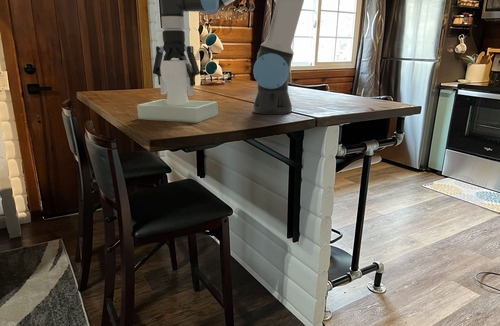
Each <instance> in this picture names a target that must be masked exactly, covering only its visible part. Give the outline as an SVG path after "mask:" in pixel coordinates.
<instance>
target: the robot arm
mask: <svg viewBox="0 0 500 326" xmlns="http://www.w3.org/2000/svg"><path fill="white" fill-rule="evenodd" d="M159 1H160V14H161V15H160V16H161V17H160V18H161V28H162V30H163V31H162V42H163V46H161V45H159V46H156V47H155V51H156V52H155V59H154V63H153V69H152V74H153V75H156V76H157V80H158V81H157V82H158V85H159V88H160V95H163V96H164V95H166V94H167V95H168V92H167V87H166V85H165V83H164V81H163V79H162V76H161V71H160V66H161V61H162V60H163V61H170V60H173V59H177V60H180V61H183V60H189V63H190V64H186V63H185V64H186V68H187V73H188V75H189V76H188V77H187V97H188V96H189V97H191V96H194V91H195V90H194V87H195V85H196V76H198V75H201V72H200V69H199V66H198V63H197V59H196V57H195V53H194V46H192V45H188V46H186V42H185V41H186V37H185V36H186V35H185V34H186V33H185V31H184V29H185V15H184V12H186V13H187V12H193V13H194V12H196V13H197V12H200V13H203V14H204V15H207V16H213V15H215V14H217V13H218V12H219V11H220V10H221V9H223V8H224V7H226V6H228V5H229V4H231V3H232V2H235V1H236V0H159ZM304 2H305V0H276V3H275V7H274V10H273V14H272V18H271V23H270V26H269V30H268V34H267V38H266V40H265V41H264V42H262V43H261V44H260V47H259V50H258V52H257V56H256V60H255V62H254V65H253V70H252V72H253V73H252V74H253V77H254V79H255V81H256V83H257V93H256V95H255V99H254V103H253V107H252V111H253V113H256V114H261V115H283V114H284V115H285V114H289V113H291V112H293V104H292V101H291V99H290V95H289V89H288V88H289V73H290V72H289V71H290V68H291V64H292V62H293V61H292V60H293V57H294V51H293V49H292V44H293V41H294V38H295V34H296V30H297V27H298V23H299V21H300V15H301V13H302V9H303V5H304ZM185 52H186V54H185ZM164 53H165V54H164ZM186 55H187V56H186ZM187 58H188V59H187Z"/></svg>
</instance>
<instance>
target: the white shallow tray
mask: <svg viewBox="0 0 500 326" xmlns="http://www.w3.org/2000/svg"><path fill="white" fill-rule="evenodd" d="M218 103H219V102H218V101H209V100H189V99H188V103H185V104H168V103H167V98H166V99H164V98H161V99H157V100H154V101H148V102H145V103H140V104H136V107H137V118H138V120H147V121H148V120H149V121H161V122H162V121H163V122H164V121H165V122H177V123H178V122H179V123H194V124H199V123H200V122H204V121H206V120H209V119H211V118H214V117H216V116H217V117H218V116H219V107H218V105H219V104H218Z"/></svg>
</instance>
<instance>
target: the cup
mask: <svg viewBox="0 0 500 326" xmlns="http://www.w3.org/2000/svg"><path fill="white" fill-rule="evenodd" d="M185 63H186V64H190V61H189V59H187V60H183V61H180V60H179V59H171V60H170V61H163V59H162V61H161V66H160V71H161V76H162V79H163V81H164V83H165V85H166V88H167V97H166V99H167V103H168V104H185V103H188V100H189V97H188V84H187V77H188V76H189V75H188V73H187V68H186V64H185ZM190 65H191V64H190Z"/></svg>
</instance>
